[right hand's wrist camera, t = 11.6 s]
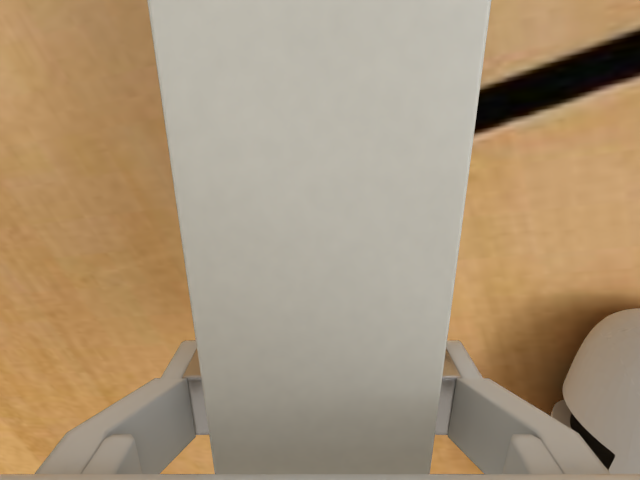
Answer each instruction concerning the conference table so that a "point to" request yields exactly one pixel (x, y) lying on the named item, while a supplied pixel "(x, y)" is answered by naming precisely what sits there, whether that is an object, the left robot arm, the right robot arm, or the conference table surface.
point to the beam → (320, 218)
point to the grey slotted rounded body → (607, 392)
